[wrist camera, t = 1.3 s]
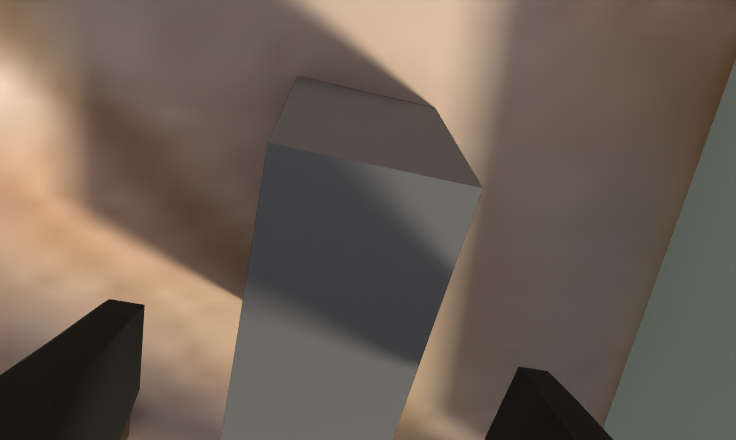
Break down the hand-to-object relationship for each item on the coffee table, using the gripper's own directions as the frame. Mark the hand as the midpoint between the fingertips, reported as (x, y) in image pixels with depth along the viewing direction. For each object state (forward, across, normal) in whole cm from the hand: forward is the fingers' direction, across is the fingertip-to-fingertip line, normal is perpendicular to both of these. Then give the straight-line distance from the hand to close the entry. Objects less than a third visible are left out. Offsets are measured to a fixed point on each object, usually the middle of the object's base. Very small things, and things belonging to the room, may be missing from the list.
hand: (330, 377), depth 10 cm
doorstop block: (+7, 0, 0) cm, 7 cm away
